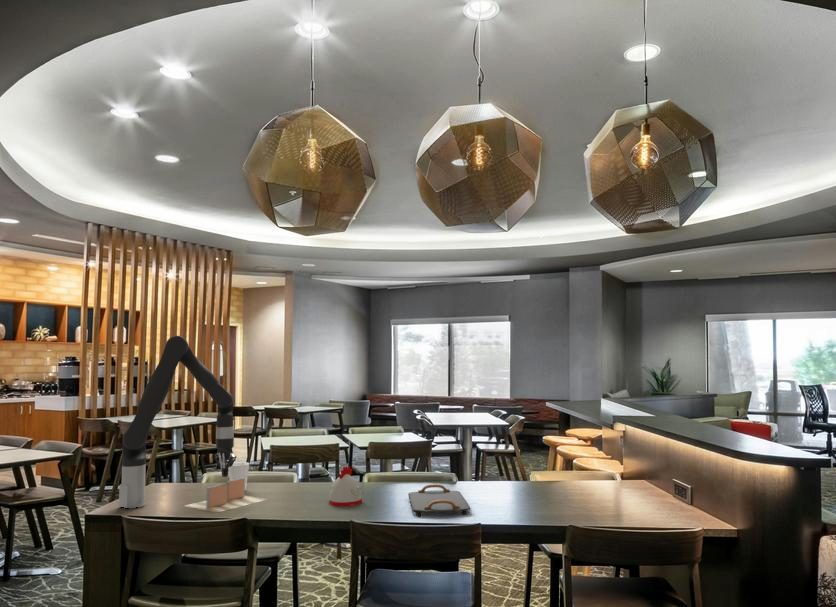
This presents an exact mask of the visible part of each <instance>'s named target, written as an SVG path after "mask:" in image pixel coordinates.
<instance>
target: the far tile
mask: <svg viewBox="0 0 836 607" xmlns="http://www.w3.org/2000/svg"><path fill="white" fill-rule="evenodd" d="M225 484H227V501H229V500H234V499H238V498H242V497H244V495H245V492H246V490H245V478H240V479H235V480H230V479H229V480H226V481H225Z"/></svg>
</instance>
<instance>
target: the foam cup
mask: <svg viewBox="0 0 836 607" xmlns="http://www.w3.org/2000/svg"><path fill="white" fill-rule="evenodd" d="M249 469H250V462H247V461H246V462H244V461H239V462H234V463H233V465H232V466H231V467H229V468H228V478H229V481H230V480H235V479H240V478H245V491H246V490H247V485H248V484H247V482H248V475H249Z"/></svg>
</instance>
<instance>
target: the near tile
mask: <svg viewBox="0 0 836 607" xmlns="http://www.w3.org/2000/svg"><path fill="white" fill-rule="evenodd" d="M205 494H206V500H205V501H206V508H211V507H215V506H219V505H224V504H227V484H226V483H222V484H217V485H214V486H213V485H211V486H209V487H208V486H207V487H206V493H205Z"/></svg>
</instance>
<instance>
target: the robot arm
mask: <svg viewBox="0 0 836 607" xmlns="http://www.w3.org/2000/svg"><path fill="white" fill-rule="evenodd" d="M179 363H181V364H182V365H183V366H184V367H185V368H186V369H187V370H188V372H189V373H190V374H191V376H193V378H194V379H195V380H196V381H197V383H198V384H199V385H200V386H201V387H202V388H203V390H204V391H206V392H207V394H209V396H210V398H211V399H212V401H214V403H215V404H216V405H217V416H216V429H215V430H216V431H215V447H216V449H217V451H216V453H215V454H213V458H214V460H215V463H216V464H217V467H220V468H221V477H223V478H227V477H229V470H228V468H229V467H231V466H232V465H233V463H235V461H236V459H237V455H234V451H233V448H234V447H235V446H234V445H235V444H234V443H235V437H234V434H235V431H234V417H233V416H234V414H233V413H234V396H233V394H232V393H231V392H229V391H227V390H226V389H225V387H223V385H222V384H221V382H220V381H219V379H218V378H217V377H216V376H215V375H214V373H212V372H211V370H210V369H208V367H207V366H206V365H205V364H204V363H203V362H202V361H201V360H199V358H198V357H197V356H196V355H195V353H194V352H193V350H192V348H191V347H190V346H189V343H188V341H187V339H186V338H185V337H183V336H181V335H172V336H171V337H169V338H168V339H167V341H166V342H165V346H164V348H163V352H162V354H161V357H160V359H159V361H158V364H157V366H156V368H155V369H154V371H153V373H152V375H151V376H150V378H149V380H148V382H147V384H146V386H145V388H144V390H143V393H142V396H141V398H140V401H139V403H138V407H137V411H136V414H135V416H134V418H133V419H132V421H131V423H130V425H129V426H128V428H126V430H125V431H124V432H123V435H122V447H121V448H122V451H121V452H122V455H121V483H120V484H119V486H118V487H119V488H118V489H119V492H118V507H119V506H120V507H124V508H123V509H125V508H129V509H137V508H136V507H138V508H141V507H145V505H146V470H147V469H146V466H147V464H146V462H147V456H146V454H147V446H146V445H147V439H148V435H149V432H150V429H151V426H152V424H153V422H154V419H155V417H156V415H158V412H159V411H160V409H161V407H162V405H163V403H164V401H165V400H166V397H167V395H168V393H169V391H170V389H171V386H172V382H173V380H174V376H175V371H176V370H177V367H178V365H179ZM120 507H119V508H120Z"/></svg>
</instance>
